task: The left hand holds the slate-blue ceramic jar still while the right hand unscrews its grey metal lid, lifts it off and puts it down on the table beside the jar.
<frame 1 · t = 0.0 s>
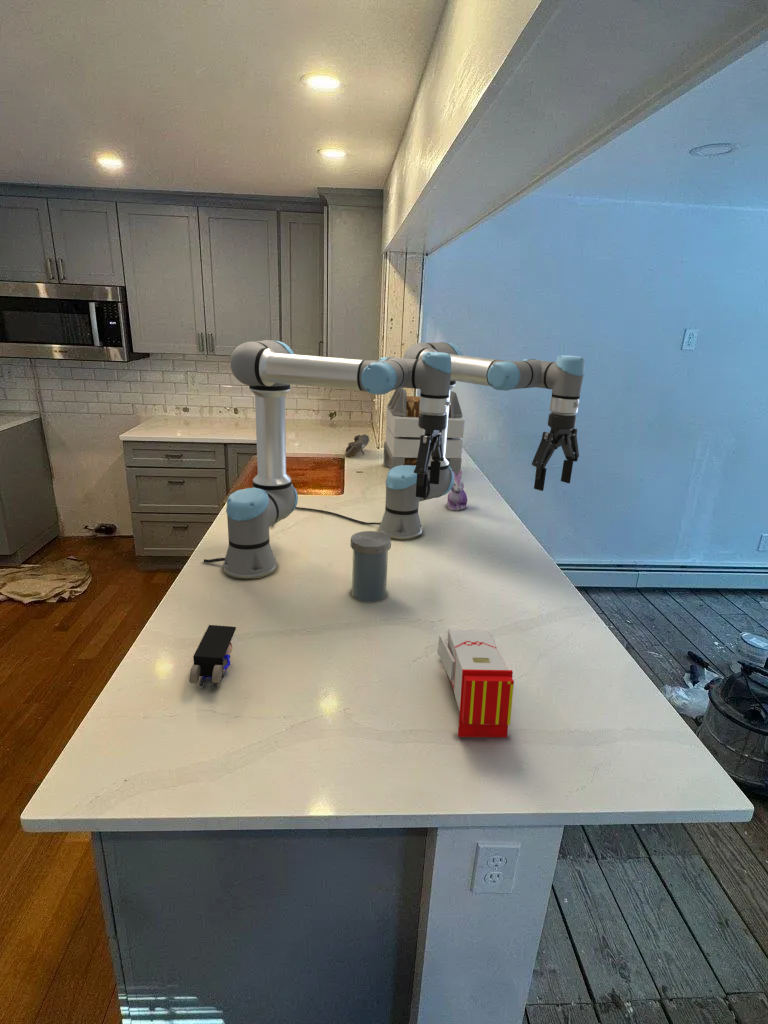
left hand: (427, 490, 156), 28 cm above the counter, tool pointing down, fingers open, 13 cm apart
right hand: (552, 485, 166), 28 cm above the counter, tool pointing down, fingers open, 13 cm apart
jar: (368, 593, 157), on the counter
white slatted box: (419, 473, 275), on the counter
lid: (370, 539, 152), point 16 cm above the counter, screwed on, not yet turned
black wheeled vehicle: (215, 672, 121), on the counter
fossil: (356, 453, 306), on the counter
figurine: (456, 507, 229), on the counter
toy: (469, 691, 119), on the counter
feather: (279, 514, 213), on the counter
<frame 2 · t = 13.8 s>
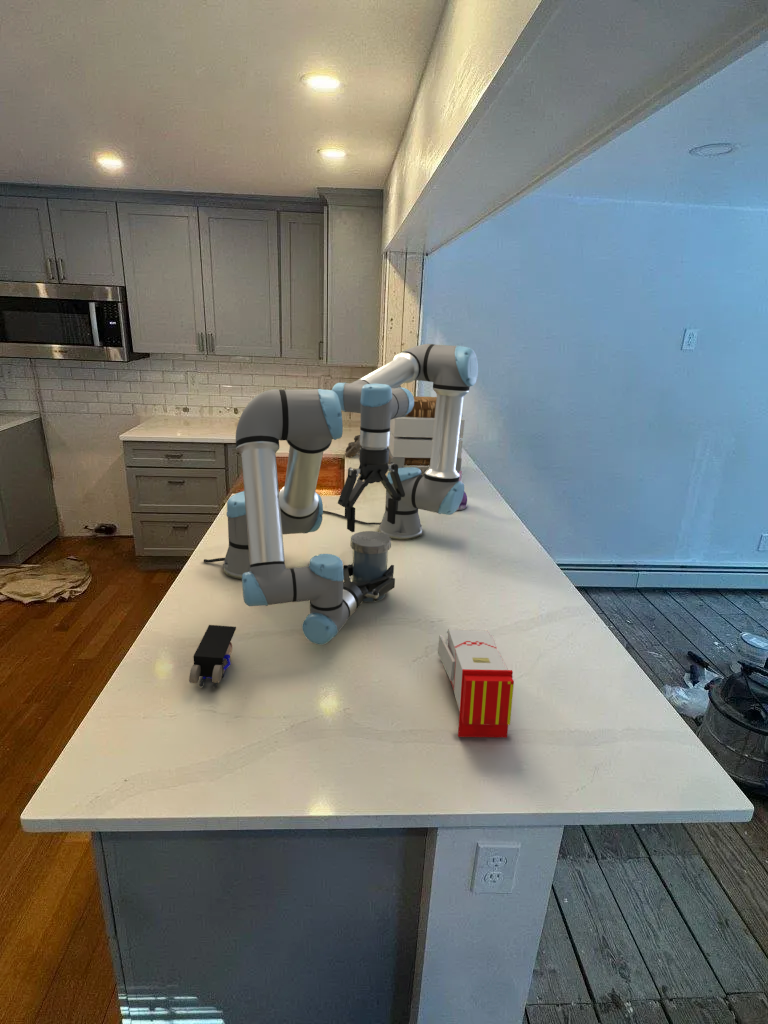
left hand: (375, 566, 159), 6 cm above the counter, tool horizontal, fingers closed on jar, 9 cm apart
right hand: (371, 526, 151), 20 cm above the counter, tool pointing down, fingers open, 12 cm apart
jar: (368, 593, 157), on the counter, touching left hand
everything else where it was.
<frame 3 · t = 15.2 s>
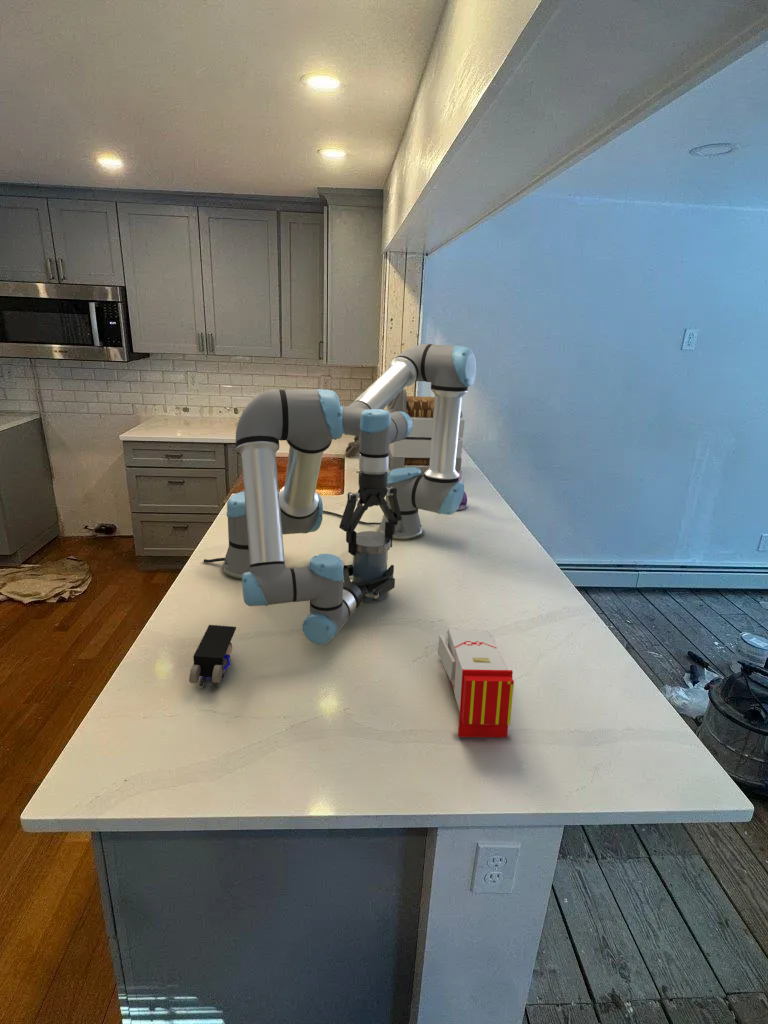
left hand: (375, 566, 159), 6 cm above the counter, tool horizontal, fingers closed on jar, 9 cm apart
right hand: (370, 549, 153), 13 cm above the counter, tool pointing down, fingers closed on lid, 11 cm apart
jar: (368, 593, 157), on the counter, touching left hand
lid: (370, 539, 152), point 16 cm above the counter, screwed on, not yet turned, touching right hand
everything else where it was.
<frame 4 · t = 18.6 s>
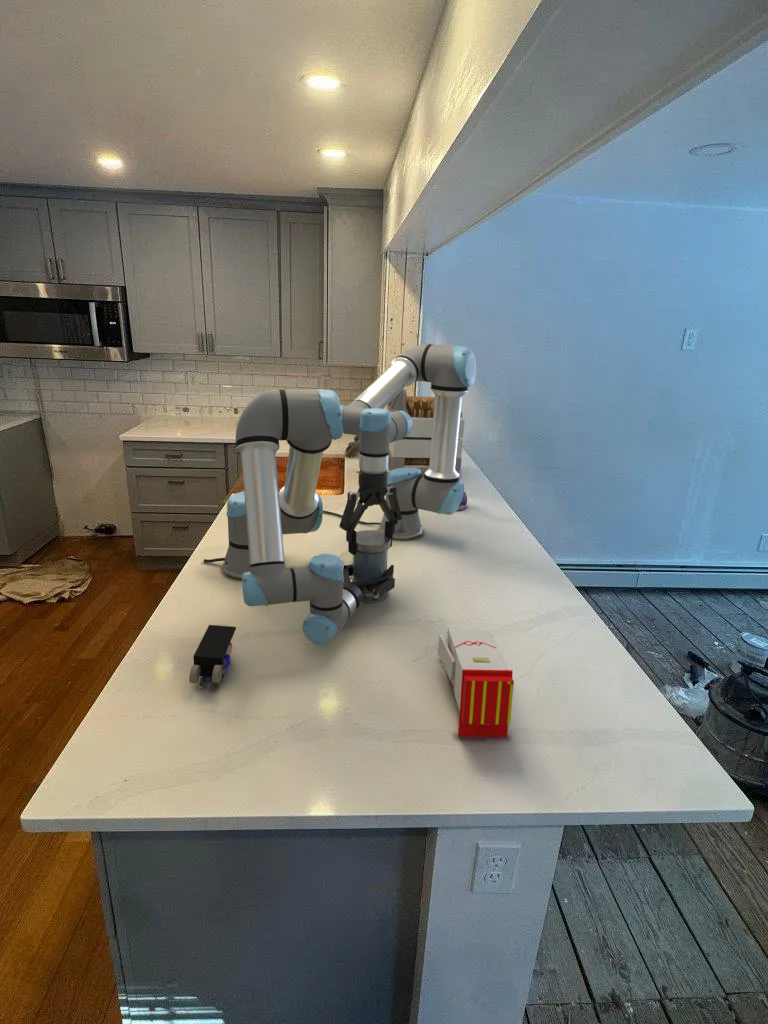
left hand: (375, 566, 159), 6 cm above the counter, tool horizontal, fingers closed on jar, 9 cm apart
right hand: (370, 548, 153), 13 cm above the counter, tool pointing down, fingers closed on lid, 11 cm apart
jar: (368, 593, 157), on the counter, touching left hand
lid: (370, 538, 152), point 16 cm above the counter, turned 95° so far, risen 0.3 cm, still on its thread, touching right hand
everything else where it was.
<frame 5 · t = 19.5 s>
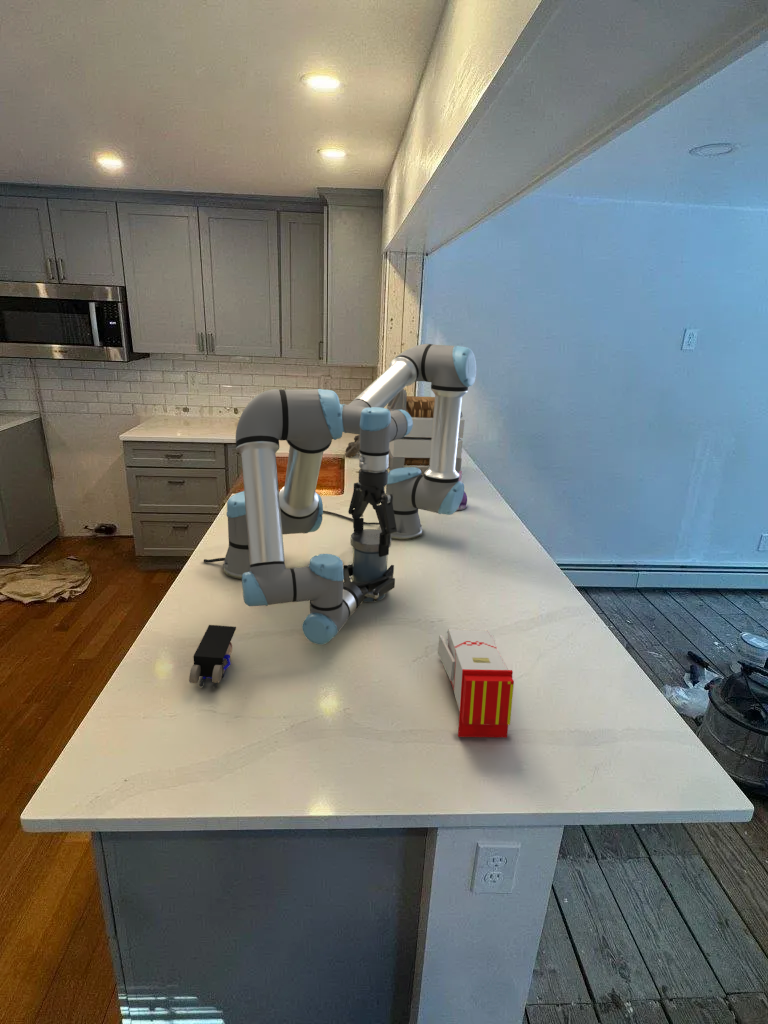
left hand: (375, 566, 159), 6 cm above the counter, tool horizontal, fingers closed on jar, 9 cm apart
right hand: (370, 548, 153), 14 cm above the counter, tool pointing down, fingers closed on lid, 11 cm apart
jar: (368, 593, 157), on the counter, touching left hand
lid: (371, 537, 152), point 17 cm above the counter, off its thread, touching right hand
everything else where it was.
when the right hand's fingers open (0 cm above the counter, at t = 25.8 s): lid drops 1 cm, point 2 cm above the counter.
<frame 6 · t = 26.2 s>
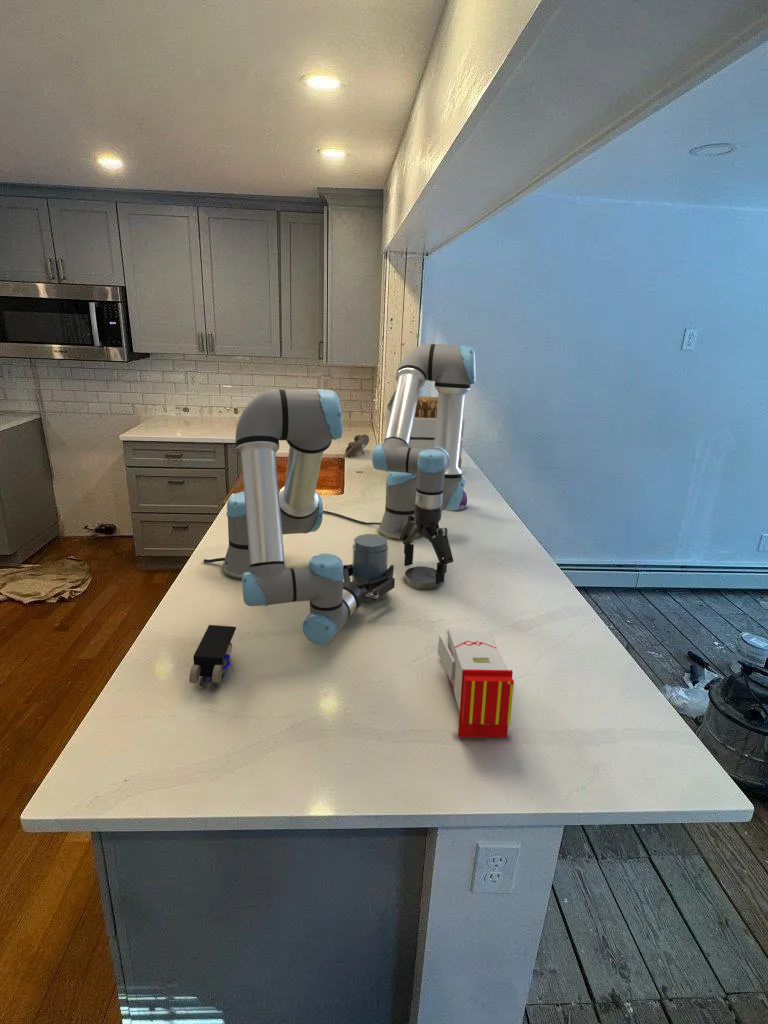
left hand: (375, 566, 159), 7 cm above the counter, tool horizontal, fingers closed on jar, 9 cm apart
right hand: (423, 573, 166), 2 cm above the counter, tool pointing down, fingers open, 13 cm apart
jar: (368, 593, 157), on the counter, touching left hand
lid: (423, 575, 166), point 2 cm above the counter, off its thread
everything else where it was.
when the left hand's fingers open (7 cm above the counter, at t = 26.7 s): jar stays where it is, on the counter.
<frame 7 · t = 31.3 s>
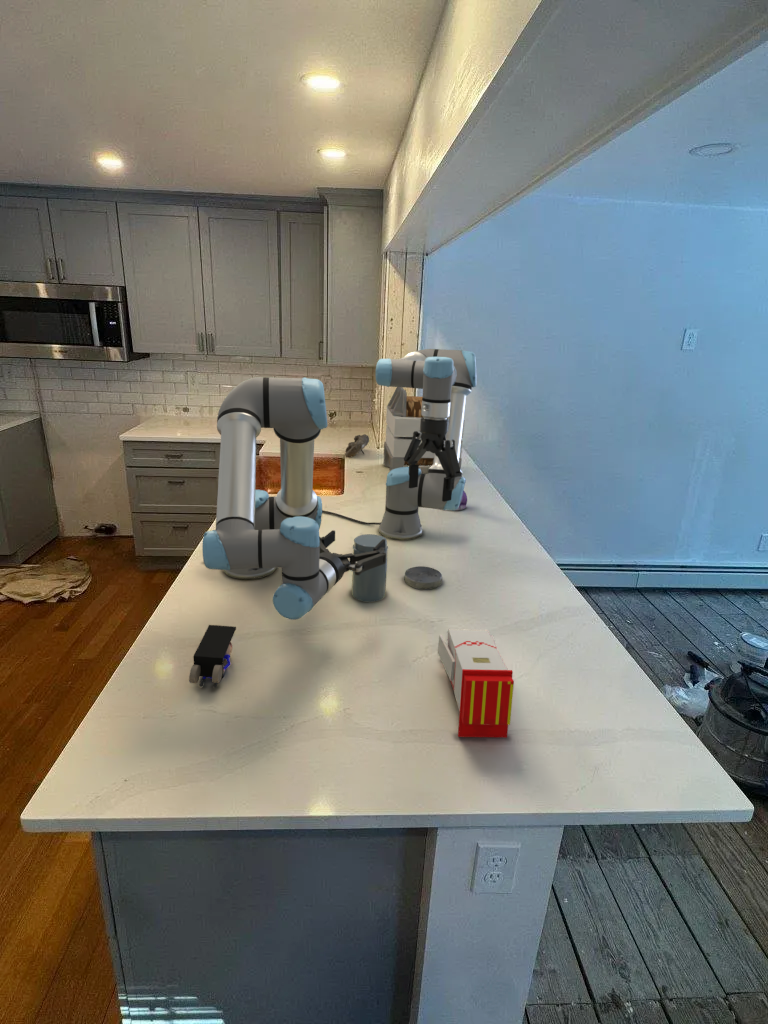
left hand: (358, 539, 143), 20 cm above the counter, tool horizontal, fingers open, 13 cm apart
right hand: (429, 493, 157), 27 cm above the counter, tool pointing down, fingers open, 13 cm apart
jar: (368, 593, 157), on the counter
everything else where it was.
at the end: lid came off its thread; lid point 1.8 cm above the counter; the left hand is holding nothing; the right hand is holding nothing; jar tilted 0°; jar moved 0.1 cm from its start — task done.
